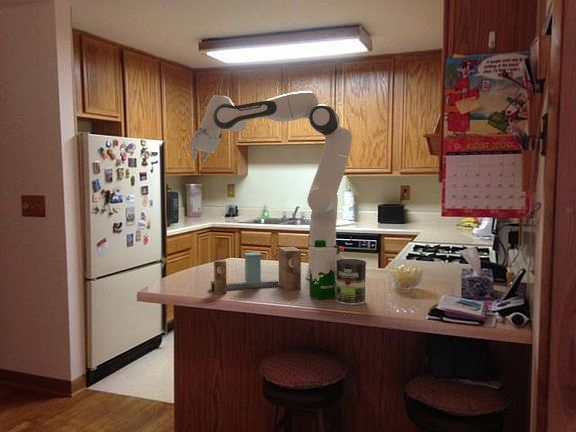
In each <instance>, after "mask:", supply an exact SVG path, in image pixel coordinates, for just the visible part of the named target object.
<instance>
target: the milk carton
mask: <svg viewBox="0 0 576 432" xmlns="http://www.w3.org/2000/svg"><path fill="white" fill-rule="evenodd" d="M308 249H309V254H310V280H309V296H310V297H313V298H315V299H316V300H325V299H334V298H335V299H336V282H335V259H336V253H337V248H334V247H331V246H328V245H326V241H324V240H316V241H315V246H310V247H309V246H308Z"/></svg>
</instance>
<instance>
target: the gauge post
mask: <svg viewBox="0 0 576 432" xmlns="http://www.w3.org/2000/svg"><path fill="white" fill-rule="evenodd" d="M213 281H214V291H213V293H214V294H215V295H222V294H227V291H228V290H227V289H226V283H227V260H225V259H215V260H213Z"/></svg>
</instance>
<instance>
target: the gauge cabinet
mask: <svg viewBox="0 0 576 432" xmlns="http://www.w3.org/2000/svg"><path fill="white" fill-rule="evenodd" d="M278 286H280V287H281V288H282V289H284V290H285V291H292V290H301V289H302V250H301V249H298V248H297V247H295V246H282V247H281V246H280V247H278Z"/></svg>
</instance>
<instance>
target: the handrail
mask: <svg viewBox="0 0 576 432" xmlns="http://www.w3.org/2000/svg"><path fill="white" fill-rule="evenodd" d="M271 287H272V288H273V287H279V280H278V279H275V280H274V279H273V280H271V279H270V280H261V283H247V282H246V281H244V282H226V289H227V291H230V290H231V291H232V290H243V289H244V290H245V289H257V288H259V289H260V288H271ZM210 291H211V292H214V280H213V281H212V280H211V281H210Z"/></svg>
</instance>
